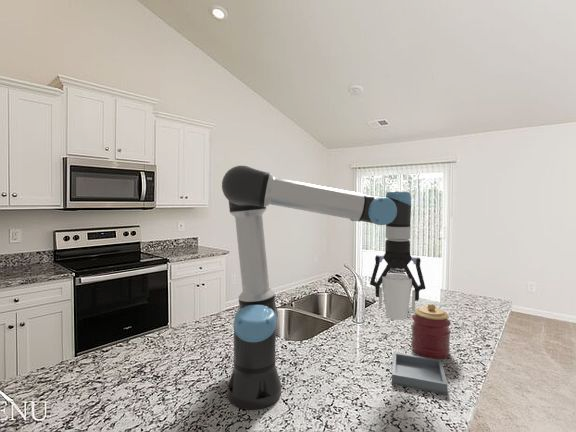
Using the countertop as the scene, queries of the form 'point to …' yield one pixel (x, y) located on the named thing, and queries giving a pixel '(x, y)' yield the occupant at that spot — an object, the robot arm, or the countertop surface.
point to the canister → (431, 332)
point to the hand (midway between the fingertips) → (396, 308)
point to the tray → (419, 373)
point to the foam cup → (396, 295)
